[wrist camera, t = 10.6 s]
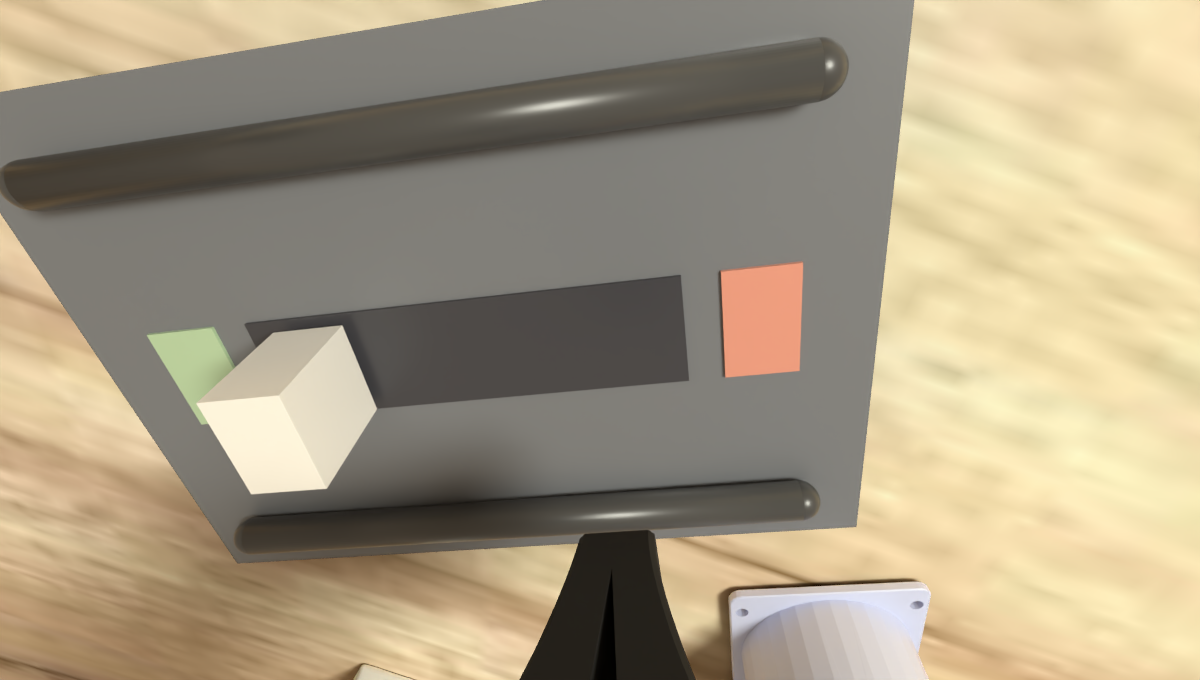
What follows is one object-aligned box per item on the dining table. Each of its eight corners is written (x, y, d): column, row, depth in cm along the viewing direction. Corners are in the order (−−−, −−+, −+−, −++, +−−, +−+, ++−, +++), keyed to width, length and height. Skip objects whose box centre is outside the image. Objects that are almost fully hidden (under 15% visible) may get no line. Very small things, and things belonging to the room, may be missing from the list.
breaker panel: (833, 472, 21) (869, 557, 18) (273, 512, 23) (217, 592, 20) (873, -53, 13) (951, -71, 10) (24, 90, 16) (-133, 112, 12)
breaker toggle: (377, 408, 17) (326, 488, 14) (313, 414, 17) (251, 493, 14) (342, 325, 15) (278, 395, 13) (273, 332, 16) (196, 403, 13)
